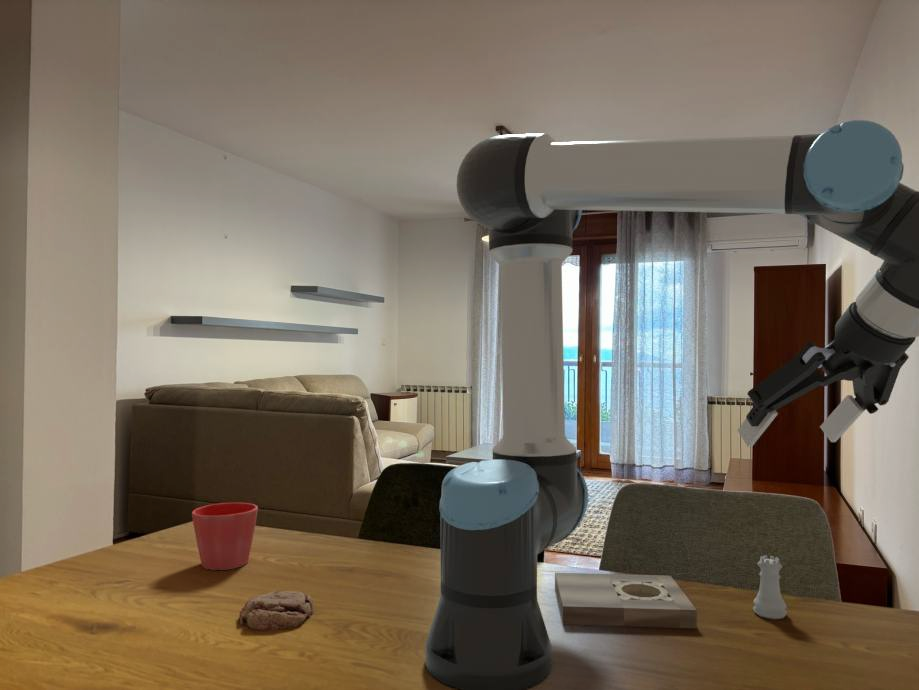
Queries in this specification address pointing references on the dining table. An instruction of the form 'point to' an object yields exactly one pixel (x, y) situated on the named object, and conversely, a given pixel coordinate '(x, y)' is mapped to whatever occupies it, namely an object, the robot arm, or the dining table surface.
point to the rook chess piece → (769, 590)
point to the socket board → (623, 601)
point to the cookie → (276, 610)
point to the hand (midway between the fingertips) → (786, 436)
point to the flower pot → (224, 534)
